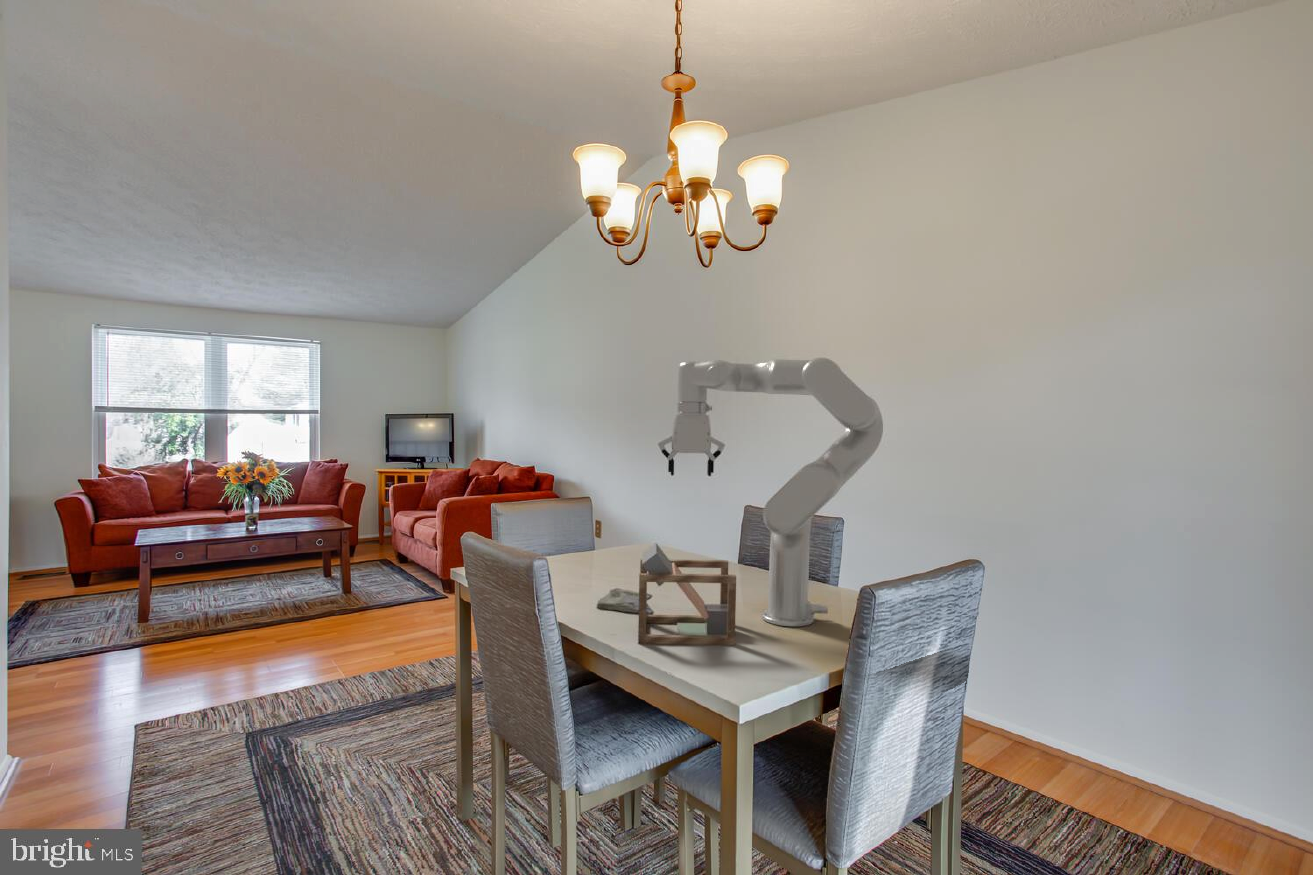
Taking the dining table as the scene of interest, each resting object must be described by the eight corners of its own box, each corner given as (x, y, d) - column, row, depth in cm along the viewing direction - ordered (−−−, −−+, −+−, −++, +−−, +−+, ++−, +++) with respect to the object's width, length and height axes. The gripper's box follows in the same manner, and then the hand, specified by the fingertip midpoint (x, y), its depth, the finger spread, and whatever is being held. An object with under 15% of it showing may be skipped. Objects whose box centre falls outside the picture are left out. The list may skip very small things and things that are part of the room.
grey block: (704, 626, 151) (730, 627, 151) (706, 634, 146) (733, 634, 146) (705, 603, 151) (731, 604, 151) (707, 610, 146) (733, 611, 146)
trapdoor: (642, 564, 142) (658, 551, 142) (642, 553, 154) (657, 541, 154) (692, 629, 142) (708, 617, 142) (689, 613, 154) (704, 601, 154)
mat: (723, 625, 154) (723, 623, 154) (728, 641, 143) (728, 639, 143) (677, 624, 154) (677, 622, 154) (679, 640, 143) (679, 638, 143)
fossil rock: (610, 594, 181) (610, 586, 181) (662, 598, 178) (662, 590, 178) (592, 612, 164) (592, 603, 164) (650, 617, 161) (650, 607, 161)
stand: (638, 643, 140) (639, 574, 140) (639, 620, 156) (640, 558, 156) (734, 645, 141) (736, 576, 140) (726, 622, 157) (727, 560, 156)
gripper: (723, 410, 172) (722, 474, 172) (658, 409, 172) (657, 473, 172) (726, 410, 164) (725, 477, 165) (658, 408, 164) (657, 476, 165)
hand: (690, 475), depth 169 cm, fingers open, 9 cm apart
